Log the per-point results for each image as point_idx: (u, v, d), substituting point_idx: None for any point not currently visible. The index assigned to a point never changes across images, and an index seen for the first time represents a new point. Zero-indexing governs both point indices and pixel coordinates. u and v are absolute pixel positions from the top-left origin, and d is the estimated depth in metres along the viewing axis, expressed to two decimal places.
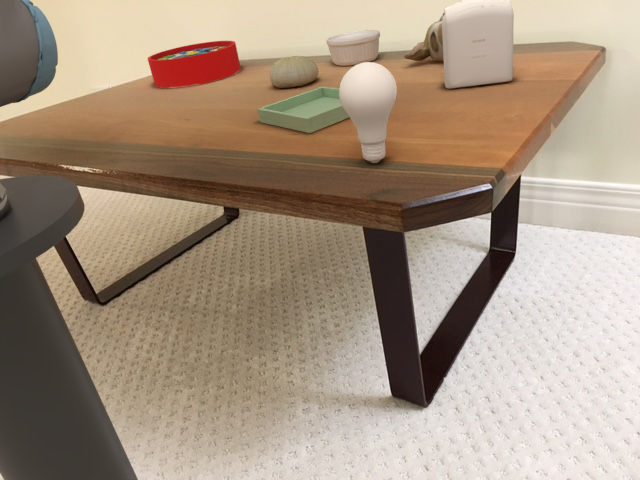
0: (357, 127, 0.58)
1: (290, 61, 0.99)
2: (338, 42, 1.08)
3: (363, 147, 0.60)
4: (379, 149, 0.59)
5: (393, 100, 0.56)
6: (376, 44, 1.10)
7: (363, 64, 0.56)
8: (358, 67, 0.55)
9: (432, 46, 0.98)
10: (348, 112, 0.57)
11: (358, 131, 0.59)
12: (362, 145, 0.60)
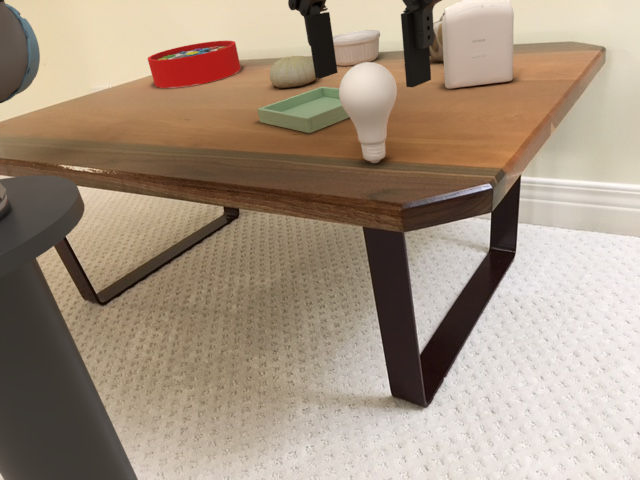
0: (357, 127, 0.58)
1: (290, 61, 0.99)
2: (338, 42, 1.08)
3: (363, 147, 0.60)
4: (379, 149, 0.59)
5: (393, 100, 0.56)
6: (376, 44, 1.10)
7: (363, 64, 0.56)
8: (358, 67, 0.55)
9: (432, 46, 0.98)
10: (348, 112, 0.57)
11: (358, 131, 0.59)
12: (362, 145, 0.60)
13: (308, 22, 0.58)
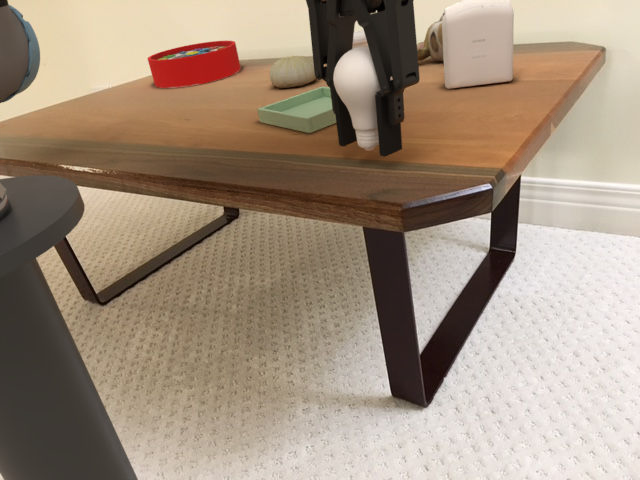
0: (351, 113, 0.57)
1: (290, 61, 0.99)
2: None
3: (357, 134, 0.59)
4: (373, 136, 0.58)
5: None
6: None
7: (358, 48, 0.55)
8: (353, 51, 0.55)
9: (432, 46, 0.98)
10: (342, 97, 0.56)
11: (352, 117, 0.58)
12: (356, 132, 0.59)
13: (334, 93, 0.59)
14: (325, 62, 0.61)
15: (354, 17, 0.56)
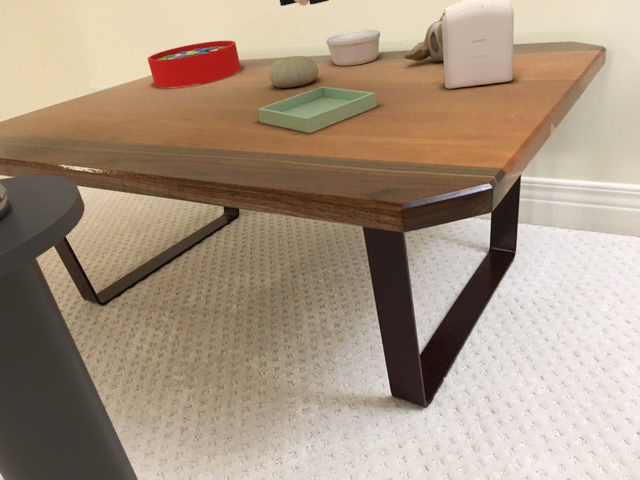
0: None
1: (290, 61, 0.99)
2: (338, 42, 1.08)
3: None
4: None
5: None
6: (376, 44, 1.10)
7: None
8: None
9: (432, 46, 0.98)
10: None
11: None
12: None
13: None
14: None
15: None
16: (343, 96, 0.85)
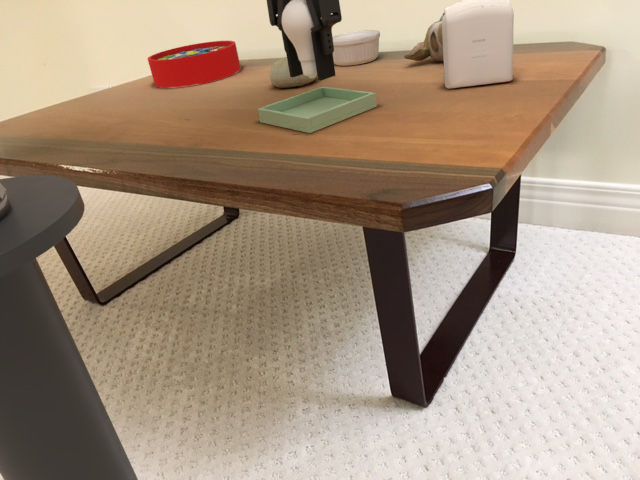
0: (296, 48, 0.76)
1: None
2: (338, 42, 1.08)
3: (302, 65, 0.78)
4: (313, 65, 0.77)
5: None
6: (376, 44, 1.10)
7: None
8: (294, 0, 0.74)
9: (432, 46, 0.98)
10: (288, 35, 0.75)
11: (297, 51, 0.77)
12: (301, 63, 0.78)
13: (284, 35, 0.78)
14: (278, 12, 0.80)
15: None
16: (343, 96, 0.85)
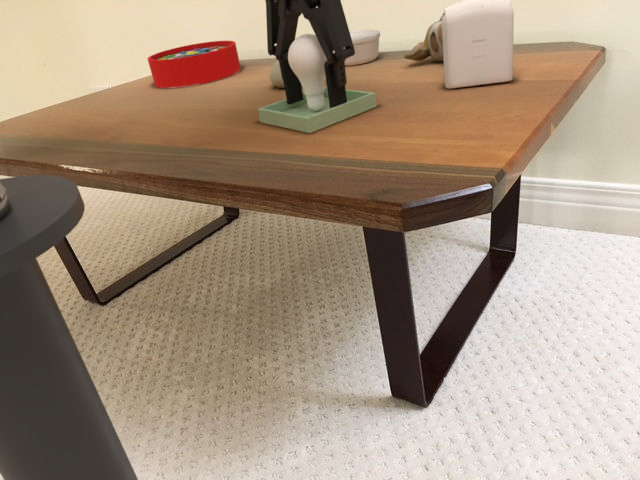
0: (302, 83, 0.79)
1: None
2: None
3: (307, 98, 0.80)
4: (318, 99, 0.80)
5: None
6: (376, 44, 1.10)
7: (304, 35, 0.76)
8: (300, 37, 0.76)
9: (432, 46, 0.98)
10: (294, 71, 0.78)
11: (303, 86, 0.79)
12: (306, 97, 0.80)
13: (281, 64, 0.81)
14: (276, 42, 0.83)
15: (298, 13, 0.77)
16: None
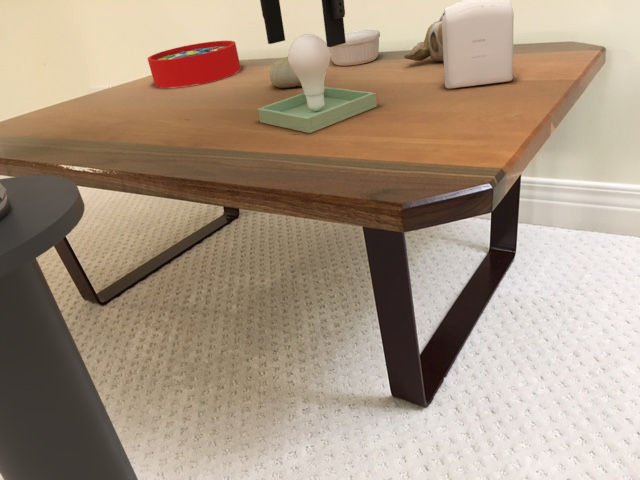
0: (302, 83, 0.79)
1: None
2: None
3: (307, 98, 0.80)
4: (318, 99, 0.80)
5: (327, 62, 0.77)
6: (376, 44, 1.10)
7: (304, 35, 0.76)
8: (300, 37, 0.76)
9: (432, 46, 0.98)
10: (294, 71, 0.77)
11: (303, 86, 0.79)
12: (306, 97, 0.80)
13: (262, 0, 0.78)
14: None
15: None
16: (343, 96, 0.85)
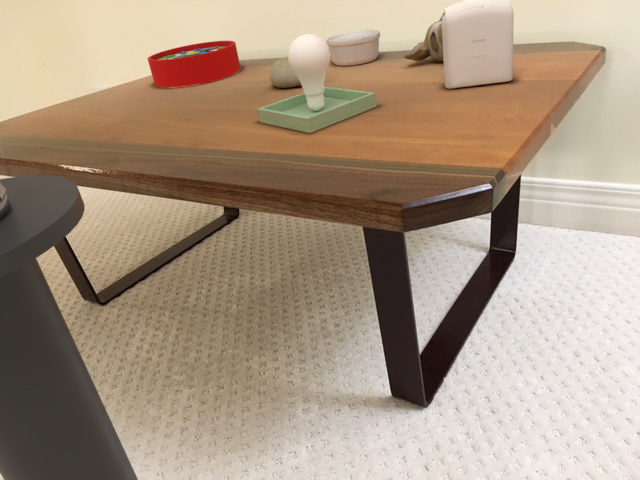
0: (302, 83, 0.79)
1: None
2: (338, 42, 1.08)
3: (307, 98, 0.80)
4: (318, 99, 0.80)
5: (327, 62, 0.77)
6: (376, 44, 1.10)
7: (304, 35, 0.76)
8: (300, 37, 0.76)
9: (432, 46, 0.98)
10: (294, 71, 0.77)
11: (303, 86, 0.79)
12: (306, 97, 0.80)
13: None
14: None
15: None
16: (343, 96, 0.85)
